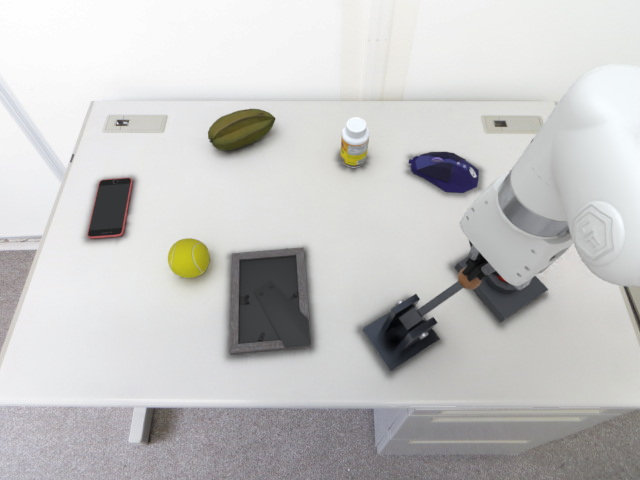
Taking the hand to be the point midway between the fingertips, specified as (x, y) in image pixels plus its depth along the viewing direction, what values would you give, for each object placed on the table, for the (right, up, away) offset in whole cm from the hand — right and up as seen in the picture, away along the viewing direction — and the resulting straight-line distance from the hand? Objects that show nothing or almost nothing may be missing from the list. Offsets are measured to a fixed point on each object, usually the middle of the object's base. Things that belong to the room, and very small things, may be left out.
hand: (474, 272), depth 52 cm
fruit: (-38, +27, +33) cm, 57 cm away
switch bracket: (-8, -12, +12) cm, 18 cm away
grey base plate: (+11, -3, +16) cm, 20 cm away
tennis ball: (-44, -1, +19) cm, 48 cm away
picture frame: (-30, -6, +16) cm, 34 cm away
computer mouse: (+5, +18, +28) cm, 34 cm away
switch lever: (-3, -4, +4) cm, 7 cm away
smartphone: (-63, +11, +25) cm, 69 cm away
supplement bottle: (-14, +22, +30) cm, 40 cm away
